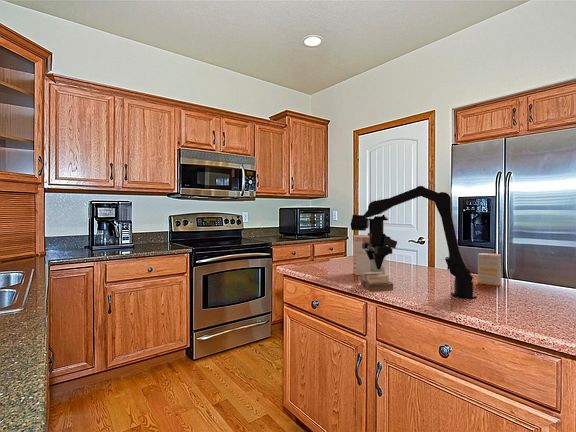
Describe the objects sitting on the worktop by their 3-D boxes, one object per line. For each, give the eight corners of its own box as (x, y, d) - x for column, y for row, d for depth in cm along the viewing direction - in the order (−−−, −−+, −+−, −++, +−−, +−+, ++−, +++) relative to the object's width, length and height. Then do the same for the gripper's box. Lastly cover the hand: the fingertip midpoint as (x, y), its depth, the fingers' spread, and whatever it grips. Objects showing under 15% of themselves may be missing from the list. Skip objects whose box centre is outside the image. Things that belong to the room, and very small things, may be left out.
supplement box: (501, 284, 144) (502, 254, 143) (499, 286, 140) (499, 255, 140) (480, 281, 149) (480, 252, 149) (477, 283, 146) (477, 253, 145)
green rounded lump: (384, 271, 138) (384, 260, 138) (372, 272, 138) (372, 261, 138) (379, 269, 143) (379, 258, 143) (368, 269, 143) (368, 259, 142)
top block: (388, 283, 137) (388, 275, 137) (369, 283, 136) (369, 276, 136) (380, 278, 145) (380, 271, 145) (362, 279, 144) (362, 272, 144)
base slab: (393, 291, 136) (393, 283, 136) (369, 292, 135) (369, 284, 135) (383, 285, 146) (383, 278, 146) (361, 286, 145) (361, 279, 145)
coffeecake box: (386, 277, 159) (386, 236, 158) (376, 279, 155) (376, 237, 154) (362, 272, 171) (362, 234, 171) (352, 274, 167) (352, 235, 167)
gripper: (405, 232, 132) (405, 272, 132) (385, 229, 150) (385, 263, 151) (377, 233, 130) (377, 273, 131) (361, 229, 149) (361, 264, 149)
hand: (376, 268), depth 140 cm, fingers closed on green rounded lump, 5 cm apart
